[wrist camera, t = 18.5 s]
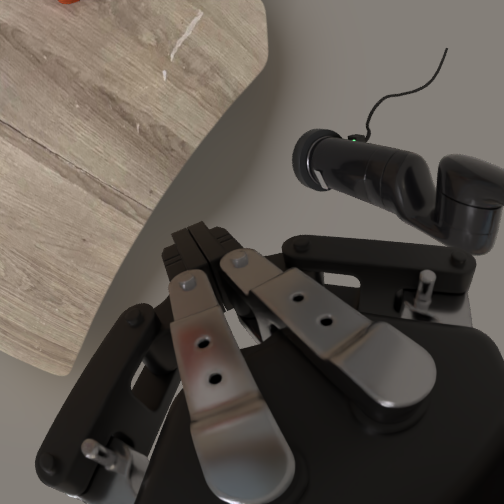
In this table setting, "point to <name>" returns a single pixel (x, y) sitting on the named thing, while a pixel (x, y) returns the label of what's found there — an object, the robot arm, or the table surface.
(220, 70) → the table surface
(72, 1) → the paper cup
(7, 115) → the table surface
